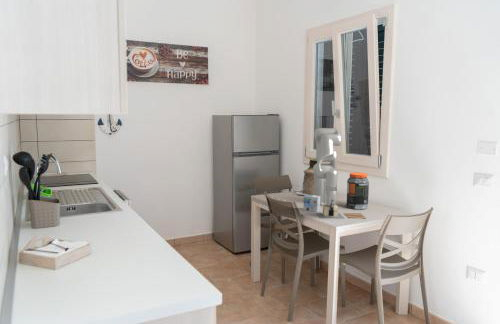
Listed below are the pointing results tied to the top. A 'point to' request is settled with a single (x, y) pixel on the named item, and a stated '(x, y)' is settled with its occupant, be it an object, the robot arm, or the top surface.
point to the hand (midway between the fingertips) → (330, 214)
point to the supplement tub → (357, 191)
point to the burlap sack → (308, 179)
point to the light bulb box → (311, 203)
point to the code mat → (330, 217)
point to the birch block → (326, 211)
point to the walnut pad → (355, 215)
